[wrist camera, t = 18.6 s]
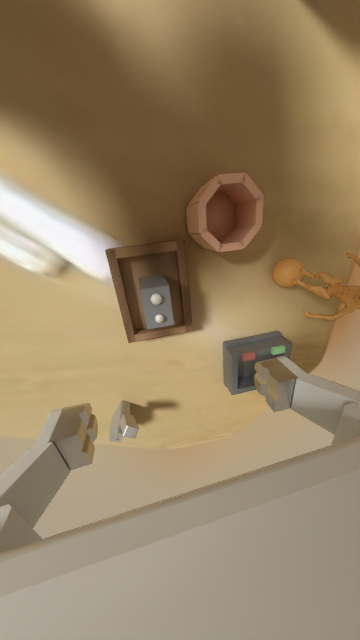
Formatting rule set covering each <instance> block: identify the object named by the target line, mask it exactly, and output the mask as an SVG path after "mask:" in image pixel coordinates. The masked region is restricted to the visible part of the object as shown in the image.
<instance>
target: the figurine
mask: <svg viewBox="0 0 360 640" xmlns="http://www.w3.org/2000/svg"><path fill="white" fill-rule="evenodd" d="M345 255H347V256H349V257H348V258H353V259H354V260H355V262H356V263H357V264H358V266H360V259H359V258H357V257H356V256H354V255H351V254H347V253H346V254H345ZM304 275H305V276H308V277H311V278H315V279H319V278H321V280H322V282H323V283H325V284H329V285H330V286H328V287H327V289H326V288H324V287H322V286H311V285H307V284H305V283H303V282H301V280H302V278H303V276H304ZM272 276H273V280H274V281H275V283H276V284H278V285H279V286H282V287H291V286H294V285H296V284H298V285H300V286H303V287H305V288H306V289H307V290H310V291H311V292H312V293H314V294H316V295H319V296H321V297H322V298H324V299H326V300H328V299H330V298H331V295H333V296H335V297H337V299H338V300H340V301H341V302H342V303H343V304H345V308H343V309H342V310H340V311H339V312H337V313H336V314H334V315H333V316H327V315H310V313H309V312H307V313H308V314H307V313H305V312H303V311H302V312H303V313H305V314H303V313H302V315H304V316H306V317H310V318H317V319H327V320H336V319H338V318H340V317H342V316H344V315H345V314H347V313H351V312H353V311H354V310H356V309H360V286H341V285H339V284H341V283H343V280H342V279H339V278H335V277H333V276H331V275H329V274H326V273H323V272H319V273H317V274H315V275H313V274H311V273H309V272H307V271H305V270H304V266H303V264H302V263H301V262H300V261H299V260H297V259H294V258H287V259H283V260H281V261H280V262H278V263H277V264H276V265H275V267H274V269H273V272H272Z"/></svg>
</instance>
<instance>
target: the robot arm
mask: <svg viewBox="0 0 360 640" xmlns="http://www.w3.org/2000/svg"><path fill="white" fill-rule="evenodd" d="M255 370H256V371H257V373H256V374H255V375H254V383H255V387H256V389H257V391H258V392H259V393H260V394H261V395H263V396H265V397H266V402H267V403H268V405H269V406H270V407H271V409H272V410H273V411H274V412H277V411H281V410H285V409H289V408H291V409H292V410H294V411H295V412H297V413H299V414H300V415H302V416H304V417H305V418H307V419H309V420H310V421H312V422H314V423H315V424H317V425H319V426H321V427H322V428H324V429H326V430H328V431H329V432H331V433H333V434H334V435H335V436H334V439H333V441H332V445H331V446H327V447H324V448H322V449H318V450H315V451H312V452H309V453H306V454H303V455H300V456H297V457H294V458H291V459H288V460H284V461H281V462H278V463H275V464H272V465H269V466H266V467H263V468H260V469H256V470H254V471H250V472H247V473H244V474H241V475H238V476H235V477H232V478H229V479H226V480H223V481H220V482H217V483H214V484H211V485H207V486H204V487H201V488H198V489H195V490H192V491H189V492H186V493H183V494H180V495H177V496H174V497H170V498H168V499H164V500H162V501H159V502H155V503H152V504H149V505H146V506H143V507H140V508H137V509H134V510H131V511H128V512H124V513H121V514H118V515H115V516H112V517H109V518H106V519H103V520H100V521H97V522H94V523H91V524H88V525H85V526H81V527H79V528H75V529H72V530H69V531H66V532H63V533H60V534H57V535H54V536H51V537H48V538H44V539H42V538H41V537H40V536H39V535H38V534H37V533H36V532H35V531H34V530H33V527H34V525H35V524H36V523H37V521H38V520H39V518H40V517H41V515H42V514H43V512H44V511H45V509H46V508H47V506H48V504H49V503H50V502H51V500H52V499H53V497H54V496H55V494H56V492H57V491H58V490H59V488H60V487H61V485H62V484H63V482H64V480H65V479H66V478H67V476H68V475H69V473H70V470H73V469H76V468H79V467H82V466H86V465H89V464H92V461H93V455H94V449H95V447H94V444H93V442H94V440H95V439H96V438H97V432H98V424H97V419H96V417H95V415H93V414H91V411H92V407H91V405H90V403H84V404H80V405H75V406H70V407H65V408H62V409H57V410H53V411H51V412H50V413H49V415H48V417H47V419H46V421H45V423H44V426H43V428H42V430H41V432H40V434H39V436H38V438H37V441H36V443H35V445H34V447H31V448H29V449H28V450H27V451H26V452H25V453H24V454H23V455H22V456H21V457H20V458H19V459H17V461H15V462H14V463H13V464H12V465H11V466H10V467H9V468H8V469H7V470H6V471H5V472H4V473H3V474H2V475H1V476H0V640H360V391H359V390H355V389H352V388H350V387H347V386H344V385H341V384H338V383H335V382H332V381H329V380H326V379H323V378H320V377H317V376H314V375H308V374H307V373H306V372H304V371H303V370H302V369H301V368H299V367H298V366H297V365H296V364H294V363H293V362H292V361H291V360H290V359H288V358H287V357H285V356H280V357H276V358H273V359H269V360H265V361H261V362H257V363H256V364H255Z"/></svg>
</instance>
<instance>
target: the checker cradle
mask: <svg viewBox="0 0 360 640" xmlns="http://www.w3.org/2000/svg"><path fill="white" fill-rule="evenodd" d="M290 349H291V343H290V342H289V341H287V340H286V339H285V338H283V337H282V336H281V333H280V332H279V331H274V332H269V333H265V334H260V335H255V336H250V337H245V338H240V339H235V340H230V341H225V342H223V368H224V385H225V386H226V387H227V388H228V389H229V391H230V393H231V395H235V394H239V393H243V392H248V391H252V390H256V387H255V383H254V375H255V374H256V373H257V371H256V370H255V364H256V363H257V362H261V361H265V360H269V359H273V358H276V357H280V356H285V357H287V358H288V359H289V356H290Z"/></svg>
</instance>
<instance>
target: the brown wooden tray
mask: <svg viewBox="0 0 360 640" xmlns="http://www.w3.org/2000/svg"><path fill="white" fill-rule="evenodd" d="M105 251H106V255H107V259H108V263H109V267H110V271H111V275H112V279H113V283H114V287H115V291H116V295H117V299H118V303H119V307H120V311H121V314H122V318H123V322H124V326H125V330H126V334H127V338H128V342H129V343H132V342H137V341H142V340H147V339H153V338H158V337H163V336H168V335H174V334H179V333H184V332H189V331H193V328H192V317H191V306H190V295H189V284H188V273H187V262H186V251H185V240H174V241H166V242H158V243H150V244H142V245H134V246H126V247H118V248H110V249H107V250H105ZM161 274H162V275H163V276H164V278H165V280H166V281H167V283H168V285H169V290H170V297H171V305H172V312H173V320H174V325H169V326H164V327H158V328H153V329H148V330H147V325H146V320H145V315H144V310H143V305H142V300H141V295H140V290H139V278H141V277H148V276H155V275H161Z"/></svg>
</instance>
